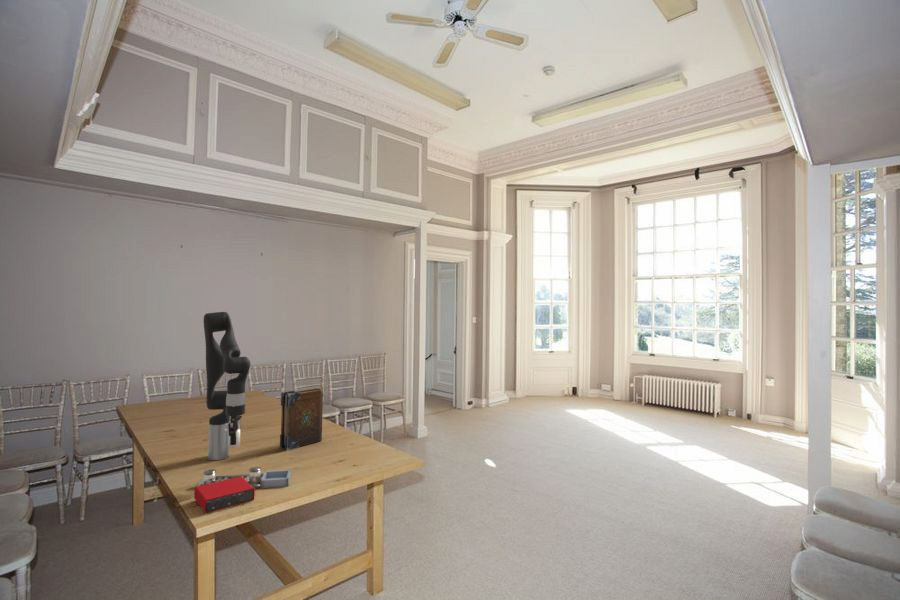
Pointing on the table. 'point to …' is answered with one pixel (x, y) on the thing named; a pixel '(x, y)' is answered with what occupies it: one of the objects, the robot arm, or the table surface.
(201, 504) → the red device housing
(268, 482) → the tray
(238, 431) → the halved boiled egg
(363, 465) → the table surface
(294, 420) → the decorative book
